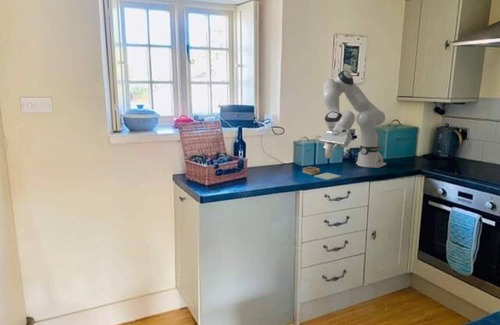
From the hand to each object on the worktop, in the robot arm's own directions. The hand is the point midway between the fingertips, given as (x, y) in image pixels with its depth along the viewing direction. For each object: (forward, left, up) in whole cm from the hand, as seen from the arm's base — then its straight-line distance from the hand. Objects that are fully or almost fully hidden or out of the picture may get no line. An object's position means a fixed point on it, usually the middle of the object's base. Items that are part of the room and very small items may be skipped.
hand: (328, 149), depth 226 cm
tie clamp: (0, -13, -17) cm, 21 cm away
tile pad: (-1, 0, -17) cm, 17 cm away
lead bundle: (-1, 0, -5) cm, 5 cm away
